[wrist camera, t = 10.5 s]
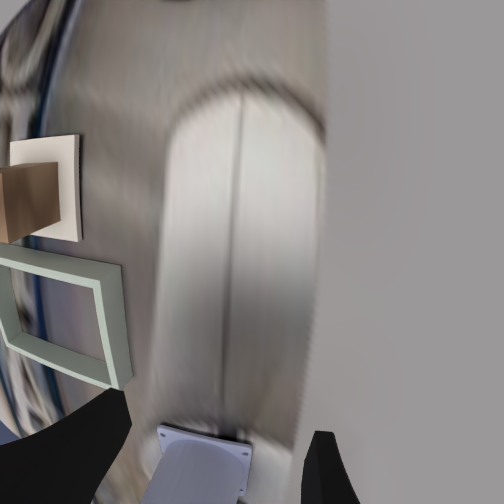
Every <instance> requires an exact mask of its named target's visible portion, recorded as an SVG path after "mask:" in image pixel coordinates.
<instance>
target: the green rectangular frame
mask: <svg viewBox="0 0 504 504" xmlns="http://www.w3.org/2000/svg"><path fill="white" fill-rule="evenodd" d="M9 267H12V268H15V269H19V270H22V271H26V272H30V273H34V274H37V275H41V276H45V277H49V278H53V279H57V280H61V281H65V282H69V283H73V284H77V285H82V286H86V287H90V288H93V291H94V298H95V304H96V310H97V317H98V322H99V328H100V333H101V339H102V344H103V349H104V353H105V358H106V362H103V361H100V360H97V359H94V358H91V357H88V356H85V355H82V354H79V353H76V352H73V351H71V350H68V349H65V348H63V347H60V346H57V345H55V344H52V343H49V342H47V341H44V340H42V339H39V338H37V337H34V336H32V335H30V334H27V333H25V332H23V331H22V328H21V324H20V320H19V316H18V312H17V307H16V303H15V298H14V293H13V288H12V283H11V277H10V271H9ZM0 329H1V332H2V335H3V338H4V341H5V344H6V346H7V347H9V348H11V349H13V350H15V351H17V352H19V353H21V354H23V355H25V356H27V357H29V358H32V359H34V360H36V361H38V362H40V363H42V364H45V365H47V366H49V367H51V368H54V369H56V370H58V371H61V372H63V373H66V374H68V375H70V376H73V377H75V378H78V379H81V380H83V381H86V382H88V383H91V384H94V385H97V386H99V387H102V388H105V389H109V388H110V387H112V388H115V389H118V390H121V391H123V389H124V388H125V386H126V385H127V384H128V382H129V381H130V379H131V378H132V377H133V375H132V368H131V361H130V354H129V346H128V338H127V329H126V319H125V309H124V297H123V288H122V277H121V266H120V265H115V264H109V263H103V262H98V261H92V260H87V259H81V258H76V257H71V256H65V255H60V254H55V253H50V252H44V251H39V250H34V249H29V248H24V247H19V246H15V245H10V244H5V243H0Z"/></svg>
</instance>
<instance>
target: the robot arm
mask: <svg viewBox="0 0 504 504" xmlns="http://www.w3.org/2000/svg"><path fill="white" fill-rule="evenodd" d="M131 426H132V422H131V418H130V415H129V411H128V407H127V403H126V399H125V394H124V391H121V390H118V389H115V388H112V387H110V388H109V389H107V390H106V391H104V392H103V393H101V394H100V395H98V396H97V397H95V398H94V399H92V400H91V401H90V402H88V403H87V404H85V405H84V406H82V407H81V408H79V409H78V410H76V411H74V412H73V413H71V414H70V415H68V416H67V417H65V418H63V419H62V420H60V421H58V422H56V423H55V424H53V425H51V426H49V427H47V428H45V429H43V430H41V431H39V432H37V433H35V434H32V435H30V436H28V437H25V438H22V439H19V440H16V441H13V442H10V443H7V444H4V445H0V504H91V501H92V499H93V497H94V494H95V492H96V490H97V488H98V486H99V484H100V483H101V481H102V479H103V478H104V476H105V474H106V473H107V471H108V470H109V468H110V466H111V465H112V463H113V461H114V460H115V458H116V456H117V455H118V453H119V451H120V450H121V448H122V446H123V445H124V442H125V440H126V438H127V436H128V433H129V431H130V428H131ZM157 432H158V437H159V442H160V446H161V451H162V455H163V456H162V458H161V460H160V462H159V464H158V466H157V468H156V470H155V473H154V475H153V477H152V479H151V481H150V483H149V485H148V487H147V490H146V492H145V494H144V496H143V498H142V500H141V502H140V504H236V503H237V499H238V496H245V494H246V488H247V482H248V475H249V469H250V462H251V455H252V447H251V446H250V445H248V444H243V443H237V442H232V441H227V440H222V439H217V438H212V437H208V436H203V435H199V434H195V433H191V432H187V431H183V430H179V429H175V428H171V427H168V426H164V425H159V426H158V428H157ZM301 504H360V502H359V500H358V498H357V496H356V494H355V492H354V490H353V487H352V485H351V483H350V480H349V478H348V475H347V473H346V470H345V468H344V465H343V462H342V460H341V456H340V453H339V450H338V447H337V443H336V439H335V435H334V433H333V432H327V431H315V433H314V436H313V439H312V441H311V444H310V447H309V450H308V453H307V456H306V458H305V460H304V468H303V475H302V483H301Z"/></svg>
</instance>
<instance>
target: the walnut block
mask: <svg viewBox="0 0 504 504" xmlns="http://www.w3.org/2000/svg"><path fill="white" fill-rule="evenodd" d="M60 221H61V218H60V204H59V182H58V162H43V163H25V164H18V165H13V166H8V167H3V168H0V242H2V243H7V244H9V243H12V242H14V241H16V240H18V239H20V238H22V237H25V236H27V235H29V234H31V233H34V232H36V231H38V230H41V229H43V228H45V227H48V226H50V225H52V224H55V223H57V222H60Z"/></svg>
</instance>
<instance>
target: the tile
mask: <svg viewBox="0 0 504 504" xmlns="http://www.w3.org/2000/svg"><path fill="white" fill-rule="evenodd" d="M43 162H58V182H59V204H60V218H61V221H60V222H57V223H55V224H52V225H50V226H48V227H45V228H43V229H41V230H38V231H36V232H34V233H31V235H37V236H43V237H50V238H56V239H63V240H69V241H75V242H79V241H81V240H82V231H81V217H80V198H79V135H67V136H57V137H47V138H38V139H30V140H22V141H15V142H10V166H13V165H18V164H25V163H43Z"/></svg>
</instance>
